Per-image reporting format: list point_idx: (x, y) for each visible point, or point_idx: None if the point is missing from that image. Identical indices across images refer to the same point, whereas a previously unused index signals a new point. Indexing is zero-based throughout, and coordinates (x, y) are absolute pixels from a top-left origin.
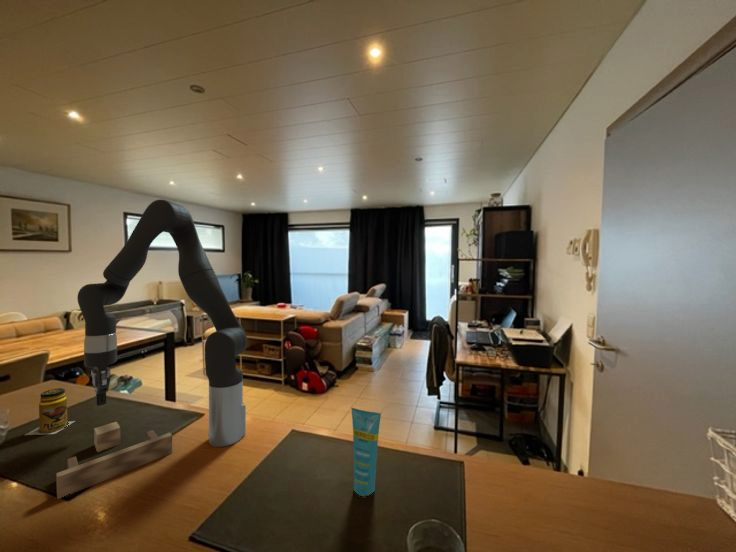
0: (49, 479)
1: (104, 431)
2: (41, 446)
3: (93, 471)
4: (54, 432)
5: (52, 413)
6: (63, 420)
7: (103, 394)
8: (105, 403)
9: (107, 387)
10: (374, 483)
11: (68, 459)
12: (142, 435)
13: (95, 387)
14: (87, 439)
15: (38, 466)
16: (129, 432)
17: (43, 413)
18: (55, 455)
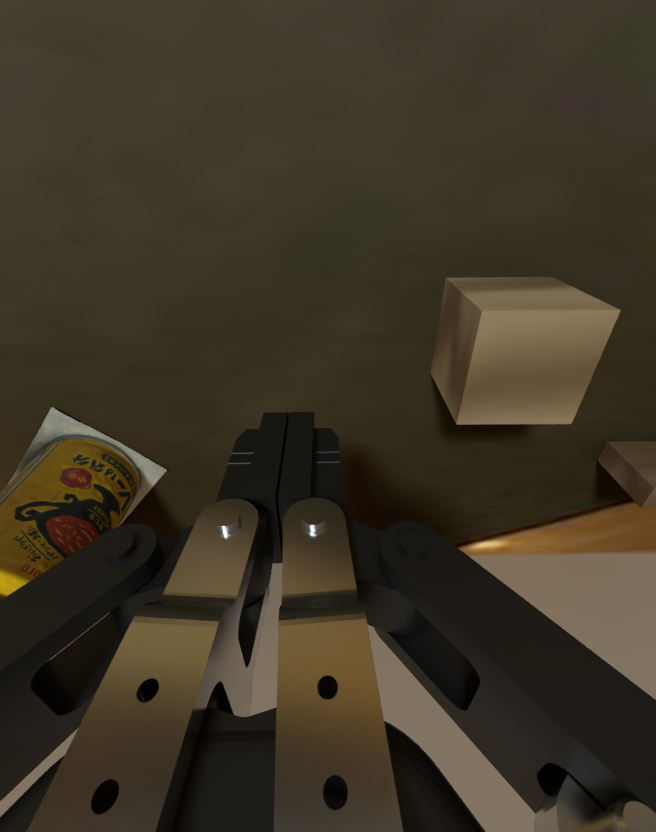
0: (561, 493)
1: (567, 390)
2: None
3: None
4: (148, 471)
5: None
6: (96, 473)
7: (342, 508)
8: (313, 412)
9: (526, 618)
10: None
11: (649, 506)
12: (577, 135)
13: (257, 641)
14: (336, 387)
15: (430, 509)
16: (443, 201)
17: None
18: (390, 476)
